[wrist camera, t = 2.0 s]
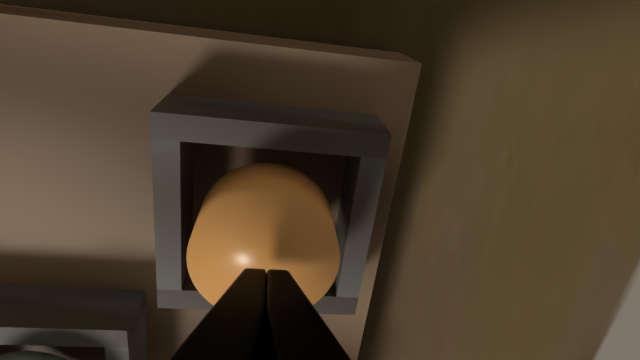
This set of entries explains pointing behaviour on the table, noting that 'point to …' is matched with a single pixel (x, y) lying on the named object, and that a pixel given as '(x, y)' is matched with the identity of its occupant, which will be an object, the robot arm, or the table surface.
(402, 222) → the table surface
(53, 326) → the console
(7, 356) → the sage button
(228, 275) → the orange button
